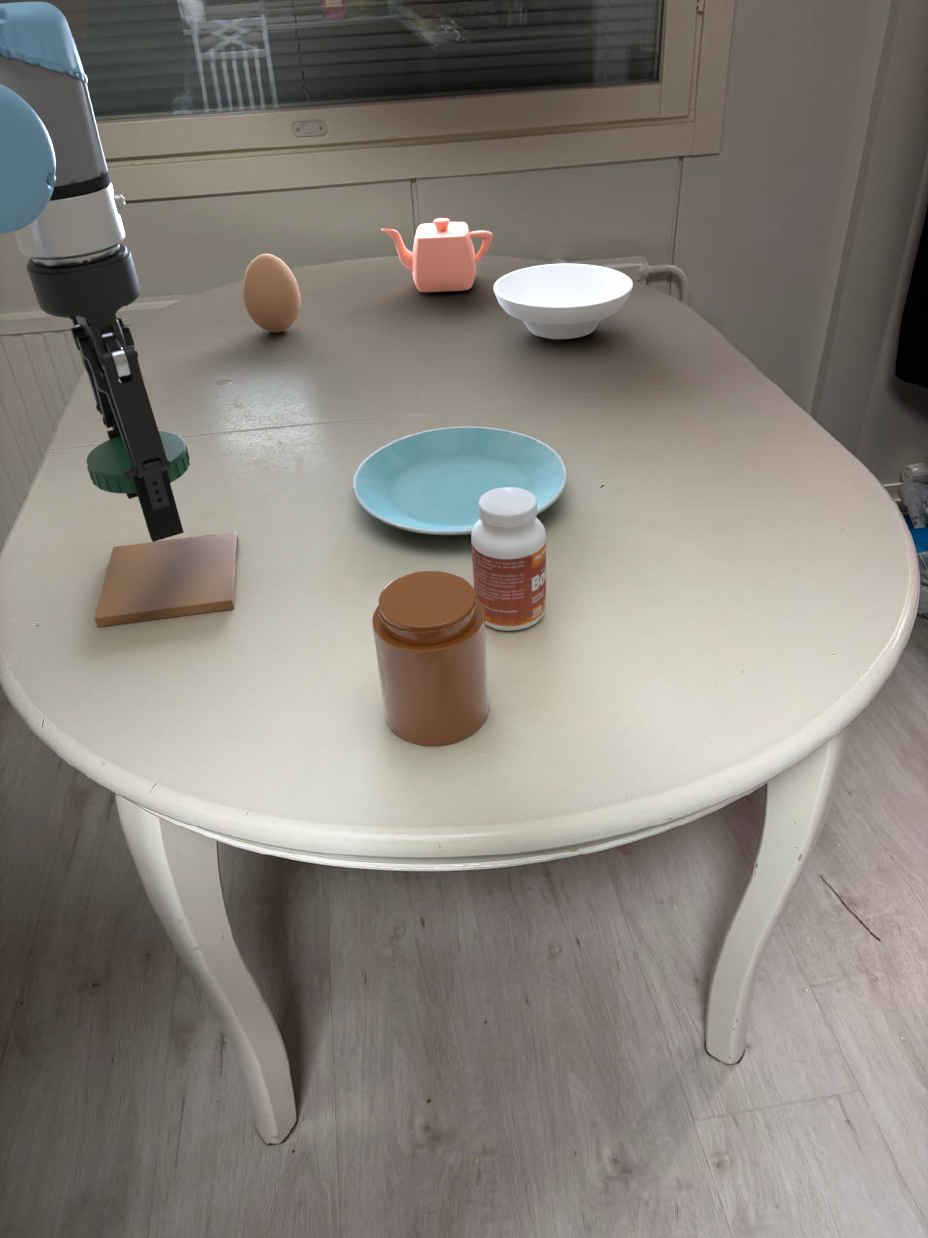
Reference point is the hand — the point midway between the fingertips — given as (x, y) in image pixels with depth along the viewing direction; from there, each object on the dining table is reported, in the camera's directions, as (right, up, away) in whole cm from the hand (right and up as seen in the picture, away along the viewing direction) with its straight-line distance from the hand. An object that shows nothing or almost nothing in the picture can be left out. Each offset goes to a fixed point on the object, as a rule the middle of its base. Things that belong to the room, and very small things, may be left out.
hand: (154, 513), depth 83 cm
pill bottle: (+32, -9, -2) cm, 33 cm away
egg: (-1, +34, +58) cm, 67 cm away
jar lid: (0, +5, -3) cm, 6 cm away
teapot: (+24, +46, +72) cm, 88 cm away
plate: (+27, +3, +14) cm, 31 cm away
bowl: (+42, +32, +52) cm, 74 cm away
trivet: (0, -6, +4) cm, 7 cm away
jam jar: (+26, -16, -12) cm, 33 cm away
